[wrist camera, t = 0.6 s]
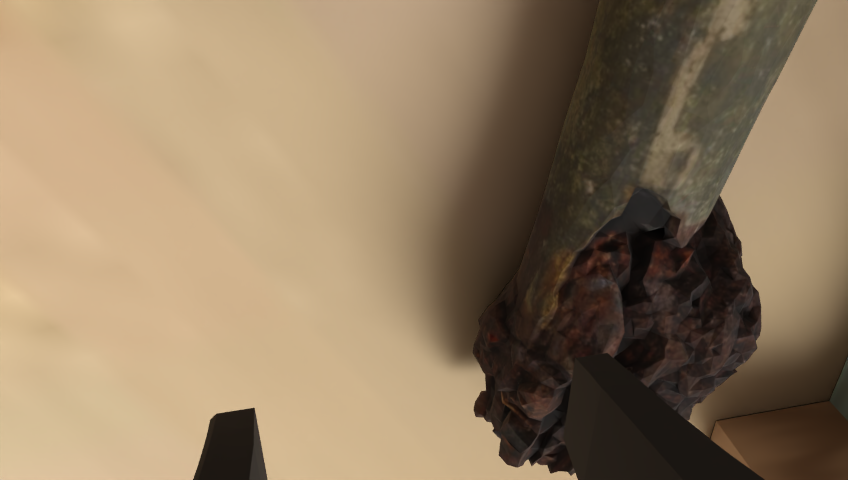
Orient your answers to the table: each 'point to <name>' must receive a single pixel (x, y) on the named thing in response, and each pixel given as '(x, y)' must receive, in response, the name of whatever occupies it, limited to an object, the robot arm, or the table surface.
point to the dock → (792, 439)
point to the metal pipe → (638, 219)
